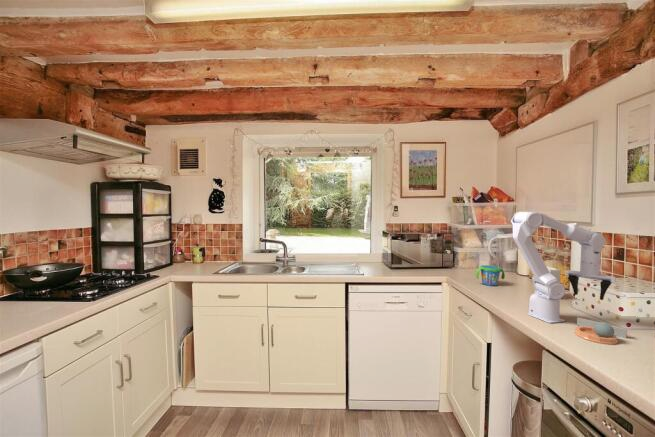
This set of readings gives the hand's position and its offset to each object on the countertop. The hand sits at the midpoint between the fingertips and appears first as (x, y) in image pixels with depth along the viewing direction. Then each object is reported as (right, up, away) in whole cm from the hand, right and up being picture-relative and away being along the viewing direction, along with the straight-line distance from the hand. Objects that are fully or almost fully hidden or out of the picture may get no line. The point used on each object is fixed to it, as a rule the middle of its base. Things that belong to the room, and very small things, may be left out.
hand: (588, 296), depth 114 cm
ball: (-9, -7, -16) cm, 20 cm away
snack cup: (-9, -7, +53) cm, 54 cm away
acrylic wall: (-4, -10, -10) cm, 14 cm away
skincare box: (+6, -9, +30) cm, 32 cm away
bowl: (-11, -10, -14) cm, 20 cm away
